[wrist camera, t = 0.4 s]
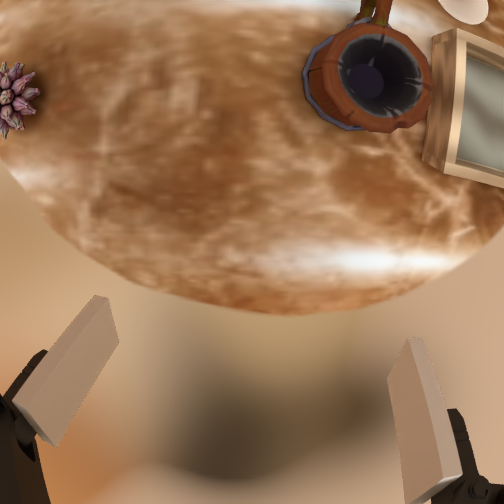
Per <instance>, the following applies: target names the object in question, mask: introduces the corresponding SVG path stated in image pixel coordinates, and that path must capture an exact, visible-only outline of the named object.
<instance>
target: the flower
mask: <svg viewBox="0 0 504 504" xmlns="http://www.w3.org/2000/svg"><path fill="white" fill-rule="evenodd" d="M19 66H20V67H19ZM23 67H24V64H21V65H20V63H17V62H16V64H15V66H14V67H13V68H12V69H11V70H10V71H9V69H8V68H7V65H6V62H3V63H2V66H1V69H0V133H1V135H2V138H3V140H5V139H6V138H7V133H8V131H9V128H11V130H13V129H15V128H16V129H17V130H18V129H21V130H23V129H24V128H25V126H24V124H23V116H22V115H27V114H28V115H31V114H35V113H36V110H37V109H35V108H33V106H32V105H31V103H30V102H29V101H31V100H32V99H33V98H34V97H36V96H38V95H40V90H39V89H38V88H36V89H35V88H31V87H27V86H28V85H29V84H30V82H31V80H32V78H33V77H34V76H35V75H36V72H32V73H31V74H28V75H25V76H22V74H23ZM26 87H27V88H26Z"/></svg>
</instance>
